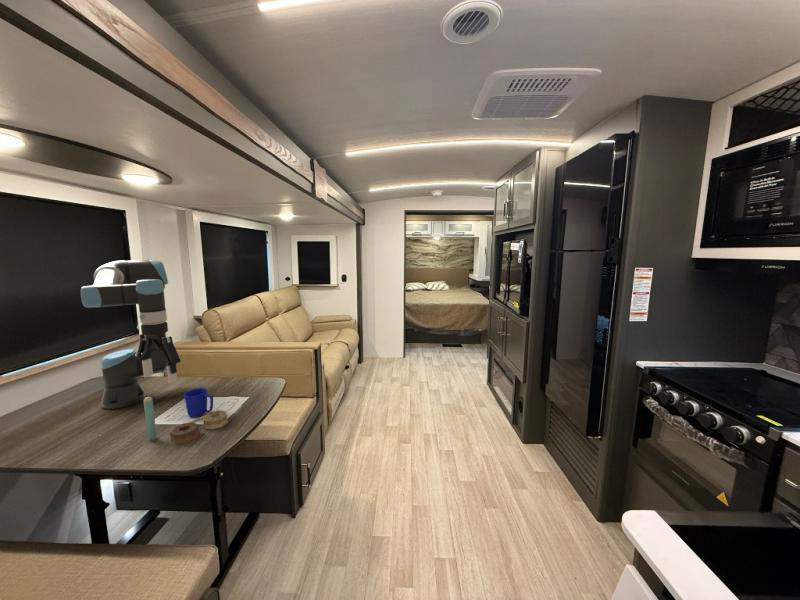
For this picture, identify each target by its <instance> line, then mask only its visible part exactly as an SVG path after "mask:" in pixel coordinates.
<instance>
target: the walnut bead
mask: <svg viewBox="0 0 800 600" xmlns="http://www.w3.org/2000/svg"><path fill="white" fill-rule="evenodd" d="M199 427H200V426H199V424H198V423H197V422H196V421H195V422H191V423H187V422H183V423H181V424H179V425H176V426H174V427H173V428H172V429H171V430H170V431H169V434H170V441H171V442H172V443H173V444H175V445H177V444H178V445H179V444H185V443H188V442H191V441H193V440H195V439H197V437H198V436H199V434H200V429H199Z"/></svg>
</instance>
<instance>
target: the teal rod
mask: <svg viewBox="0 0 800 600" xmlns="http://www.w3.org/2000/svg"><path fill="white" fill-rule="evenodd" d="M143 407H144V416H145V424H146V432H147V439H148V441H154V440H156V439H157V438H158V436H157V435H158V434H157V427H156V426H157V425H156V418H155V410H154V409H155V408H154V401H153V398H152V397H151V396H147V397H146V396H145V398H144V399H143Z"/></svg>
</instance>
